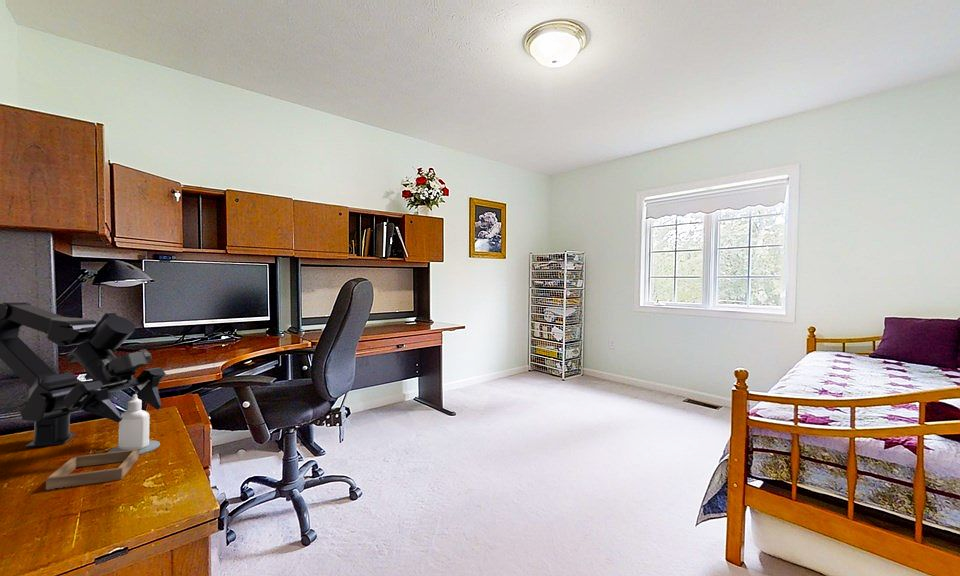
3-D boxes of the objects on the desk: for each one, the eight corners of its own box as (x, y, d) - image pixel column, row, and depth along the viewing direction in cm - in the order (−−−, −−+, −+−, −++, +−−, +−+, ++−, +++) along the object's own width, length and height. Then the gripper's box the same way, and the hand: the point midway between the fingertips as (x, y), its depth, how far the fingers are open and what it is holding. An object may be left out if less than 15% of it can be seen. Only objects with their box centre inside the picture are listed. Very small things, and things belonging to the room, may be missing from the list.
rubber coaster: (116, 445, 93) (116, 443, 93) (164, 439, 97) (164, 438, 97) (100, 460, 85) (100, 458, 85) (153, 453, 89) (153, 451, 89)
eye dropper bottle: (127, 453, 88) (128, 398, 88) (116, 448, 91) (117, 395, 91) (151, 446, 92) (152, 394, 92) (139, 441, 95) (141, 390, 95)
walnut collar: (73, 466, 82) (73, 456, 82) (138, 458, 87) (139, 448, 87) (45, 490, 73) (46, 479, 73) (121, 479, 77) (121, 468, 77)
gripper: (76, 345, 83) (121, 402, 81) (160, 335, 101) (198, 381, 100) (43, 381, 84) (87, 438, 82) (132, 364, 102) (169, 411, 101)
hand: (141, 414), depth 91 cm, fingers open, 9 cm apart
